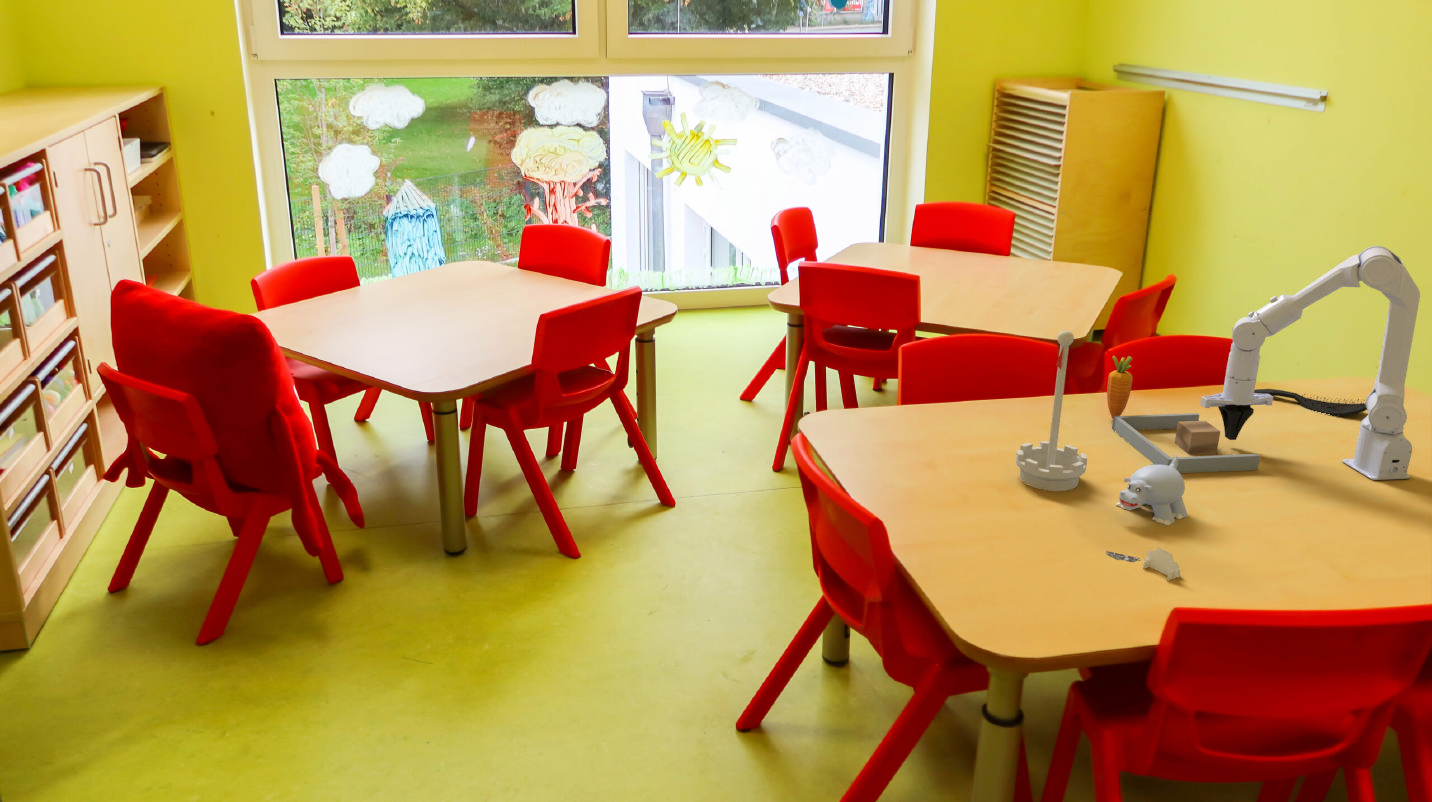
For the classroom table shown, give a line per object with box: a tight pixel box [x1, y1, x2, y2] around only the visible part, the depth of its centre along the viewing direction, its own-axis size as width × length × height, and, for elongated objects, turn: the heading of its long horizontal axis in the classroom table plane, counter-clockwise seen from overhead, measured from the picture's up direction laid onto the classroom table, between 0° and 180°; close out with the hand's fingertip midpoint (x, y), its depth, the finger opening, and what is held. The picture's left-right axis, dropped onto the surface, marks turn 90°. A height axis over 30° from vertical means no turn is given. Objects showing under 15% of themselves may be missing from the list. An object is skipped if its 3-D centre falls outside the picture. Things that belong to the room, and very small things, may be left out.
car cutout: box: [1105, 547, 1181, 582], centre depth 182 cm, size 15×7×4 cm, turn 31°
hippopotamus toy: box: [1115, 454, 1188, 526], centre depth 198 cm, size 11×15×10 cm
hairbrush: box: [1254, 388, 1368, 418], centre depth 253 cm, size 8×4×25 cm
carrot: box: [1106, 355, 1134, 420], centre depth 241 cm, size 5×5×15 cm
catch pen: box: [1111, 412, 1261, 474], centre depth 228 cm, size 24×19×3 cm
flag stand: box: [1015, 329, 1088, 492], centre depth 208 cm, size 13×13×30 cm
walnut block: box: [1174, 420, 1221, 455], centre depth 228 cm, size 6×6×5 cm
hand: (1230, 438), depth 229 cm, fingers closed
